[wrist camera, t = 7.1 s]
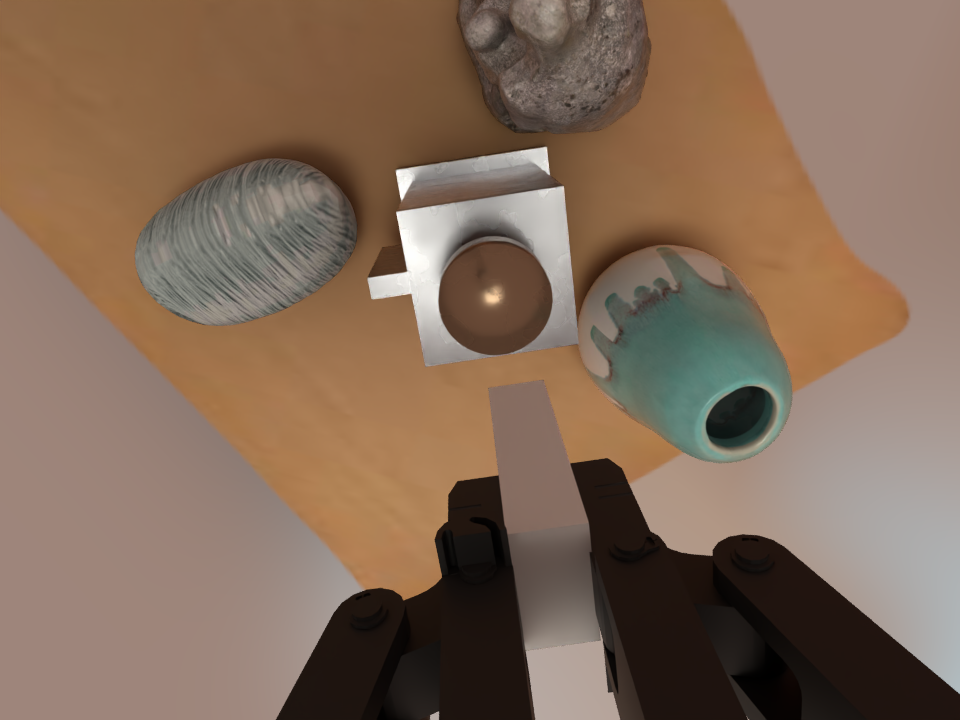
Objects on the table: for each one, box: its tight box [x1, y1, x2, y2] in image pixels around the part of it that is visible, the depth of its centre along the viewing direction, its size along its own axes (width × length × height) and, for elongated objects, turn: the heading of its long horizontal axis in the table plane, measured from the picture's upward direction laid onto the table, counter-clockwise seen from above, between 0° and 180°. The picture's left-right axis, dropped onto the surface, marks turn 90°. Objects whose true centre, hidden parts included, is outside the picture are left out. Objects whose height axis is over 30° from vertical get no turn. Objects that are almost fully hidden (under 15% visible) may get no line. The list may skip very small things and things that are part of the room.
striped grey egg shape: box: [135, 158, 357, 326], centre depth 43 cm, size 14×10×10 cm
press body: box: [367, 146, 579, 367], centre depth 40 cm, size 10×12×14 cm
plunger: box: [438, 236, 553, 355], centre depth 37 cm, size 6×6×13 cm
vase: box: [578, 245, 792, 463], centre depth 41 cm, size 12×12×18 cm
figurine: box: [457, 0, 651, 134], centre depth 34 cm, size 13×12×18 cm
